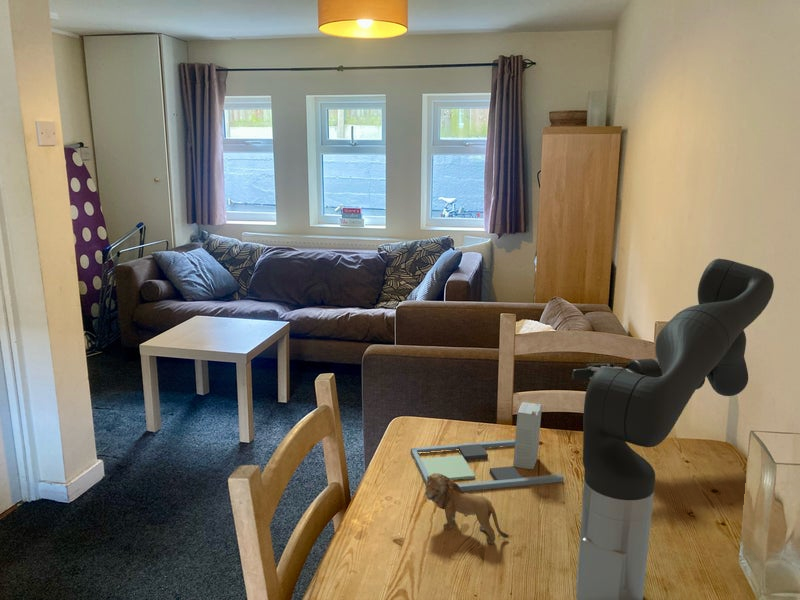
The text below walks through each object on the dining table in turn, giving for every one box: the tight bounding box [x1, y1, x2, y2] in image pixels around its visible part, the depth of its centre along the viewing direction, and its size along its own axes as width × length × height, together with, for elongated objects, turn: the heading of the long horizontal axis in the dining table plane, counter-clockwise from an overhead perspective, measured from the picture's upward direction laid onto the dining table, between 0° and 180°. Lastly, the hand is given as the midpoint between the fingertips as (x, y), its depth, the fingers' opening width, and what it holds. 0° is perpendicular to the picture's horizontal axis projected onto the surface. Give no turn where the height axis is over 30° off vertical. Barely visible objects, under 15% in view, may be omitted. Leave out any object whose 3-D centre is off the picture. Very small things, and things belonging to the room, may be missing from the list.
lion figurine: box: [424, 473, 509, 544], centre depth 106 cm, size 15×5×9 cm, turn 67°
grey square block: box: [489, 465, 523, 481], centre depth 124 cm, size 5×5×1 cm
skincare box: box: [512, 401, 543, 470], centre depth 130 cm, size 6×4×12 cm
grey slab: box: [458, 444, 489, 461], centre depth 134 cm, size 5×5×1 cm
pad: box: [421, 454, 476, 481], centre depth 128 cm, size 9×9×1 cm
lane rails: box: [410, 439, 564, 492], centre depth 129 cm, size 27×18×1 cm
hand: (582, 381), depth 130 cm, fingers open, 8 cm apart
